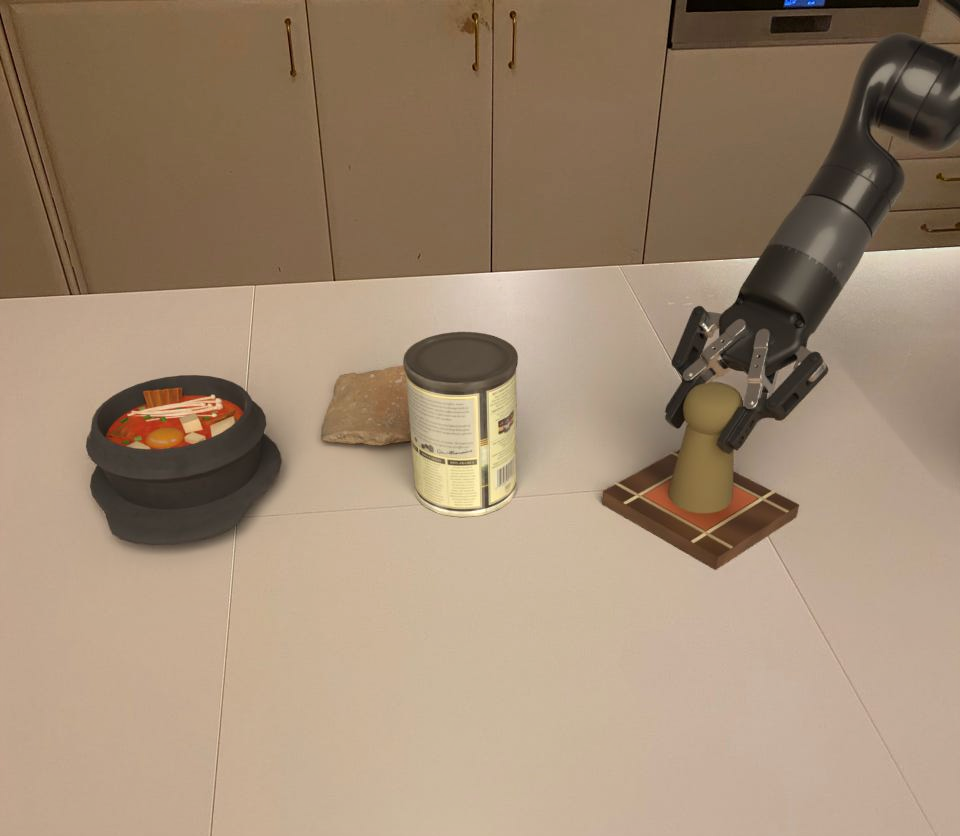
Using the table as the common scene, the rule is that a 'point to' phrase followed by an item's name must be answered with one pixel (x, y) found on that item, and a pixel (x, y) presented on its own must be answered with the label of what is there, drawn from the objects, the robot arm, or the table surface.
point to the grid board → (700, 514)
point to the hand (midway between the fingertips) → (696, 435)
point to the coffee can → (463, 422)
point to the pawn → (705, 450)
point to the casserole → (179, 459)
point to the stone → (369, 408)
